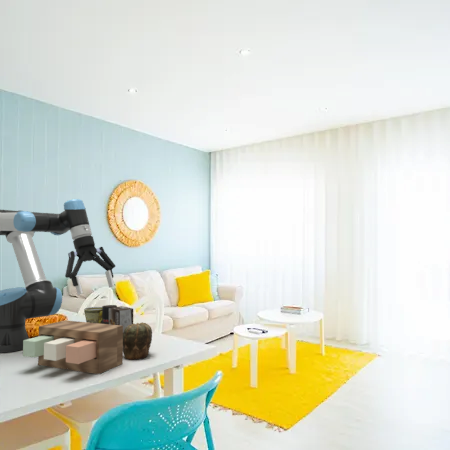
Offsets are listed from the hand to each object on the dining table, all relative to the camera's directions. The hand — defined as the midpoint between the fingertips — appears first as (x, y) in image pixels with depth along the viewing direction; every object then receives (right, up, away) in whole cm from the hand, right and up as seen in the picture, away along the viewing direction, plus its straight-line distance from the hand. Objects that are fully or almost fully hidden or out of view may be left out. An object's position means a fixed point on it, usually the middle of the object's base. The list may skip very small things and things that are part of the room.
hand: (96, 290), depth 154 cm
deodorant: (0, -25, +16) cm, 29 cm away
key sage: (-12, -18, -21) cm, 30 cm away
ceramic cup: (-13, -26, +41) cm, 50 cm away
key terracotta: (+4, -17, -28) cm, 33 cm away
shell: (+17, -23, -6) cm, 29 cm away
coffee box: (+8, -24, +4) cm, 26 cm away
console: (0, -23, -16) cm, 28 cm away
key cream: (-4, -17, -24) cm, 30 cm away
